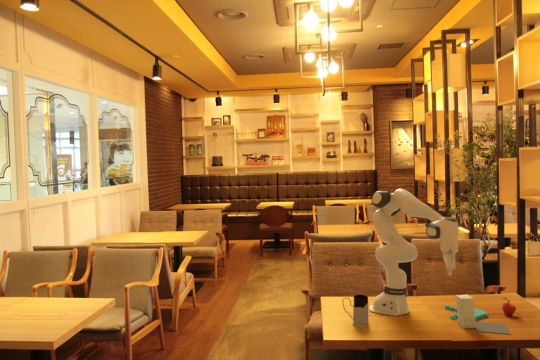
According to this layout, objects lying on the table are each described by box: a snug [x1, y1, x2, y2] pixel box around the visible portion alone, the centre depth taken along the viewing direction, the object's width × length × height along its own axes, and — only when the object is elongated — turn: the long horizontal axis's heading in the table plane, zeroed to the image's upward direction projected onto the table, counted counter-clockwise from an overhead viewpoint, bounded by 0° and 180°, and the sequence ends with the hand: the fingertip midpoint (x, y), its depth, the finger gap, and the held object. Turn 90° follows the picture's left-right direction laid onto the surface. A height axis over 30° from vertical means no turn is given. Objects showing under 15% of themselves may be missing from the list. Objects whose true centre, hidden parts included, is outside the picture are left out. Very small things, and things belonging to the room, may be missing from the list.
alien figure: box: [444, 304, 488, 322], centre depth 266 cm, size 20×2×20 cm
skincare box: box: [455, 294, 476, 329], centre depth 247 cm, size 8×7×16 cm
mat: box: [474, 321, 512, 336], centre depth 244 cm, size 16×14×1 cm
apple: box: [501, 297, 517, 317], centre depth 263 cm, size 8×7×10 cm
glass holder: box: [342, 294, 370, 328], centre depth 252 cm, size 9×14×15 cm, turn 70°
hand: (449, 273), depth 249 cm, fingers open, 5 cm apart
